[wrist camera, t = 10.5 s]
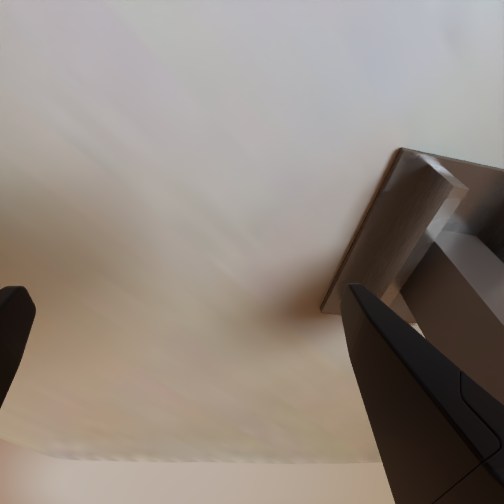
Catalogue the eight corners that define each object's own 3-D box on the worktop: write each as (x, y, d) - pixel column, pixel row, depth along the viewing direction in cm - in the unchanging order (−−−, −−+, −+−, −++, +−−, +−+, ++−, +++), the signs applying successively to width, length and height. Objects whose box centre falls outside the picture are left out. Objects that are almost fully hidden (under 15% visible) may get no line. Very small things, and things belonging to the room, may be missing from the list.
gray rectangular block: (391, 277, 27) (488, 449, 17) (423, 227, 24) (565, 400, 14) (442, 284, 28) (564, 452, 18) (480, 236, 25) (651, 406, 15)
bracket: (320, 308, 30) (329, 340, 27) (401, 147, 21) (427, 171, 18) (446, 322, 32) (466, 353, 30) (568, 182, 23) (613, 209, 21)
